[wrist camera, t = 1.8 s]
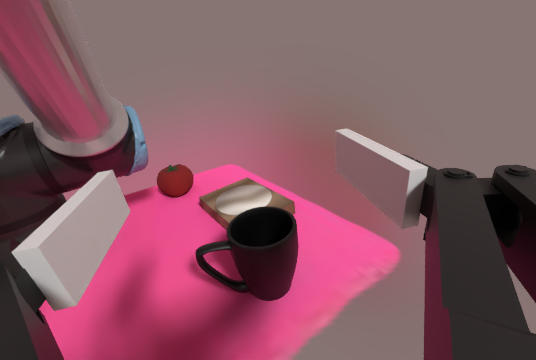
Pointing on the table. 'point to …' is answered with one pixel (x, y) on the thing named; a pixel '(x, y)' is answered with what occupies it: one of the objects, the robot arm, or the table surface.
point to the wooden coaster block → (242, 200)
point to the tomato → (175, 180)
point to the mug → (258, 252)
